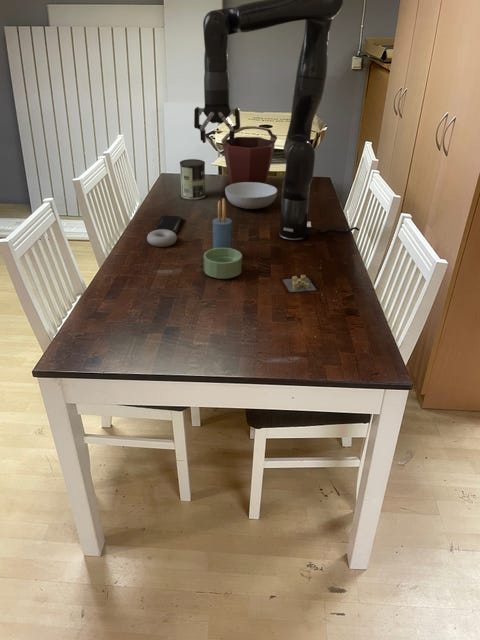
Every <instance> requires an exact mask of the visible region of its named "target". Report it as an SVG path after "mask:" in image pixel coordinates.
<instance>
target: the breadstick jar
mask: <svg viewBox="0 0 480 640" xmlns="http://www.w3.org/2000/svg"><path fill="white" fill-rule="evenodd" d="M221 200H222V201H221ZM221 200H218V201H217V217H215V218H213V219H212V249H213V248H231V249H233V247H232V245H233V220H232V219H231V218H228V217H227V203H226V198H225V197H223V198H221Z"/></svg>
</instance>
